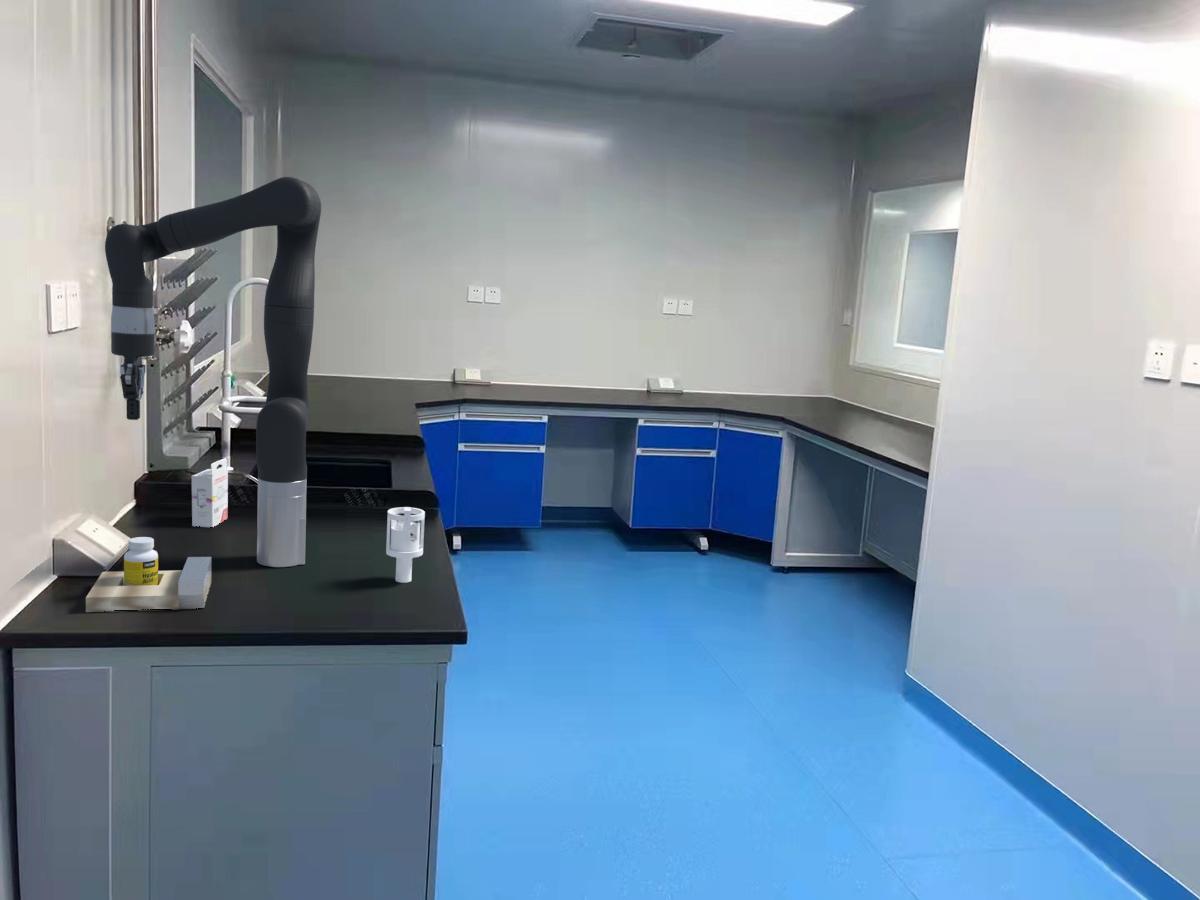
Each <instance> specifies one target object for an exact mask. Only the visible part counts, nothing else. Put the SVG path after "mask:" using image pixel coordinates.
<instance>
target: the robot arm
mask: <svg viewBox="0 0 1200 900" xmlns="http://www.w3.org/2000/svg"><path fill="white" fill-rule="evenodd" d="M321 213H322V202H321V197H320V195H319V192H318V191H317V190H316V189H315V188H314V187H313V186H312V185H311V184H310V183H308V182H306V181H304V180H301V179H299V178H297V177H294V176H283V177H278V178H277V179H274V180H272V181H269V182H267V183H265V184H263V185H261V186H259V187H256V188H255V189H252V190H250V191H248V192H244V193H243V194H239V195H236V196H235V197H231V198H228V199H225V200H222V201H216V202H213V203H210V204H209V203H208V204H205V205H202V206H201V205H200V206H197V207H193V208H187V209H185V210H181V211H177V212H173V213H169V214H167V215H164V216H162V217H160V218H159V219H158V220H157V221H152V222H150V223H145V224H142V225H141V224H139V225H135V224H134V225H133V224H127V223H120V224H116V225H114V226H112V227H111V228H110V229H109V230H108V232H107V235H106V238H105V242H104V252H105V253H104V254H105V257H106V258H105V259H106V262H107V263H106V264H107V267H108V273H109V276H110V279H111V282H112V283H111V284H112V288H111V290H112V291H111V295H112V299H111V302H112V304H111V305H112V306H111V307H112V308H111V314H110V339H111V340H110V346H111V347H110V350H111V354H113V355H114V356H121V357H123V363H122V364H120V368H119V369H120V376H119V379H120V382H121V388H122V393H123V394H122V396H123V399H125V401H126V419H127V420H131V421H132V420H133V421H139V419H140V418H141V400H142V398H143V395H144V387H145V374H146V372H147V370H146V369H147V368H146V366H147V365H146V364H143V358H144V357H146V358H147V357H153V356H154V355H155V352H156V351H155V349H156V348H155V343H156V341H155V330H156V329H155V324H156V323H155V322H156V321H155V314H154V287H153V282H152V281H151V280H150V278H148V277H147V276H146V271H145V270H146V269H145V264H144V263H148V262H153V261H156V260H160V259H162V258H165V257H167V256H170V255H172V254H174V253H176V252H183V251H187V250H192V249H195V248H200V247H203V246H207V245H211V244H213V243H216V242H219V241H221V240H223V239H226V238H228V237H230V236H232V235H234V234H238V233H241V232H243V231H247V230H251V229H257V228H264V227H275V226H276V232H277V233H276V235H277V236H276V237H277V238H276V239H277V240H276V241H277V242H276V243H277V244H276V255H275V259H274V262H273V266H272V269H271V271H270V275H269V278H268V281H267V286H266V289H265V290H266V291H265V296H264V306H263V332H264V342H265V343H264V344H265V350H266V355H267V360H268V361H267V362H268V385H267V391H266V392H267V393H266V398H265V404H264V406H263V407H262V408H261V409H260V410H259V412H258V415H257V419H256V427H255V429H256V430H255V431H256V432H255V437H256V439H255V440H256V441H255V443H256V444H255V446H256V447H255V449H256V453H255V457H256V459H255V460H256V466H257V517H256V518H257V525H256V526H257V528H256V529H257V530H256V531H257V532H256V534H257V535H256V536H257V537H256V562H257V563H258V564H259V565H262V566H264V567H265V566H266V567H269V568H270V567H272V568H287V567H295V566H298V565H300V566H301V565H305V564H306V540H307V539H306V534H307V532H306V531H307V530H306V529H307V528H306V527H307V483H308V482H307V479H308V465H307V458H306V453H307V452H306V451H307V449H306V447H307V430H308V428H309V426H310V420H311V419H310V407H309V406H310V405H309V393H308V370H309V362H310V358H311V351H312V342H313V333H314V320H315V289H316V288H315V281H316V280H315V279H316V273H315V272H316V271H315V270H316V269H315V266H316V265H315V259H316V257H315V256H316V255H315V254H316V247H317V246H316V245H317V240H318V239H317V238H318V232H319V227H320V220H321V216H322V215H321Z"/></svg>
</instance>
